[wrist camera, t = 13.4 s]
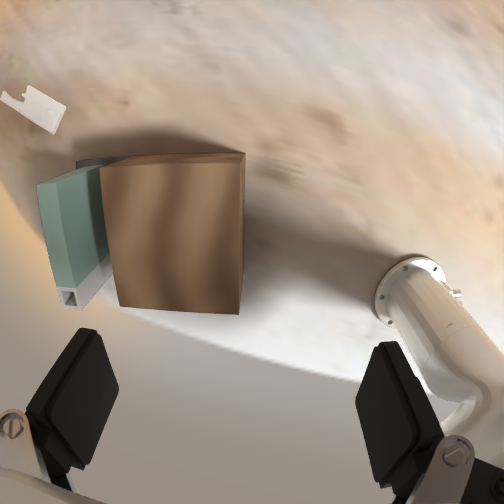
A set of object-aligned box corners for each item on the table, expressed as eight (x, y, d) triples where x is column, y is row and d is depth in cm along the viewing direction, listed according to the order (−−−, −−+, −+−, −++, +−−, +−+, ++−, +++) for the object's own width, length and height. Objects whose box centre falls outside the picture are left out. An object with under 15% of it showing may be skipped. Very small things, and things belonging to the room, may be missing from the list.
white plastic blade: (14, 71, 30) (10, 71, 29) (70, 103, 33) (66, 103, 32) (2, 99, 31) (-2, 100, 30) (56, 134, 35) (51, 135, 34)
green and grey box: (104, 164, 35) (56, 182, 25) (116, 268, 41) (82, 310, 31) (85, 166, 35) (36, 184, 25) (99, 267, 41) (63, 307, 31)
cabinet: (245, 153, 36) (240, 163, 27) (243, 272, 42) (238, 314, 33) (79, 160, 36) (35, 174, 27) (93, 265, 42) (61, 299, 33)
